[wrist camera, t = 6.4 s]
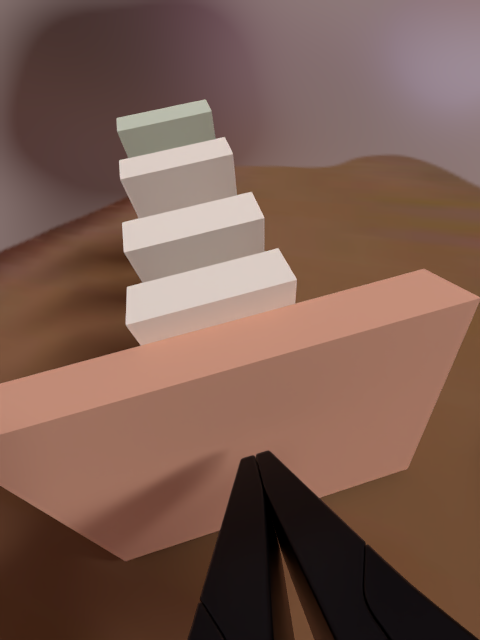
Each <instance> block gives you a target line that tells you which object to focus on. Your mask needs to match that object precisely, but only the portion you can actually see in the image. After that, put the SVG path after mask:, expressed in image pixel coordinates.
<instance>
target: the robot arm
mask: <svg viewBox="0 0 480 640" xmlns="http://www.w3.org/2000/svg"><path fill="white" fill-rule="evenodd" d="M274 527H275V528H274ZM275 531H276V532H275ZM277 538H278V539H277ZM278 542H279V544H278ZM279 545H280V548H281V551H282V554H283V557H284V560H285V562H286V565H287V568H288V570H289V573H290V576H291V578H292V581H293V584H294V586H295V589H296V592H297V594H298V597H299V600H300V602H301V605H302V607H303V610H304V613H305V615H306V618H307V621H308V623H309V626H310V629H311V631H312V634H313V637H314V639H315V640H479V639H478V638H476V637H475V636H474V635H473V634H471V633H470V632H469V631H468V630H466V629H465V628H464V627H463V626H461V625H460V624H459V623H458V622H456V621H455V620H454V619H453V618H451V617H450V616H449V615H448V614H446V613H445V612H444V611H443V610H442V609H440V608H439V607H438V606H437V605H436V604H434V603H433V602H432V601H431V600H430V599H428V598H427V597H426V596H425V595H423V594H422V593H421V592H420V591H419V590H417V589H416V588H415V587H414V586H413V585H411V584H410V583H409V582H408V581H407V580H406V579H405V578H404V577H403V576H402V575H400V574H399V573H398V572H397V571H396V570H395V569H394V568H393V567H392V566H391V565H389V564H388V563H387V562H386V561H385V560H384V559H383V558H382V557H381V556H380V555H379V554H378V553H377V552H376V551H375V550H374V549H372V548H371V547H370V546H369V545H366V543H365V541H364V540H363V539H362V538H361V537H360V536H359V535H358V534H357V533H355V532H354V531H353V530H352V529H351V528H350V527H349V526H348V525H347V524H346V523H345V522H344V521H343V520H342V519H341V518H340V517H339V516H338V515H337V514H336V513H335V512H333V511H332V510H331V509H330V508H329V507H328V506H327V505H326V504H325V503H324V502H323V501H322V500H321V499H320V498H319V497H318V496H317V495H316V494H315V493H314V492H313V491H311V490H310V489H309V488H308V487H307V486H306V485H305V484H304V483H303V482H302V481H301V480H300V479H299V478H298V477H297V476H296V475H295V474H294V473H293V472H292V471H291V470H289V469H288V468H287V467H286V466H285V465H284V464H283V463H282V462H281V461H280V460H279V459H278V458H277V457H276V456H275V455H274V454H273V453H272V452H271V451H269V450H267V451H264V452H260V453H257V454H256V457H255V456H254V455H251V456H248V457H244V458H242V459H241V460H240V463H239V466H238V470H237V473H236V477H235V480H234V483H233V487H232V490H231V494H230V497H229V501H228V504H227V507H226V511H225V514H224V518H223V521H222V524H221V528H220V531H219V535H218V538H217V542H216V545H215V548H214V552H213V555H212V559H211V562H210V566H209V569H208V572H207V576H206V579H205V583H204V586H203V590H202V593H201V596H200V601H201V602H199V603H198V606H197V609H196V613H195V616H194V620H193V623H192V627H191V630H190V633H189V636H188V640H295V639H294V633H293V627H292V621H291V614H290V608H289V602H288V596H287V589H286V583H285V577H284V571H283V565H282V559H281V553H280V548H279Z"/></svg>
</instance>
